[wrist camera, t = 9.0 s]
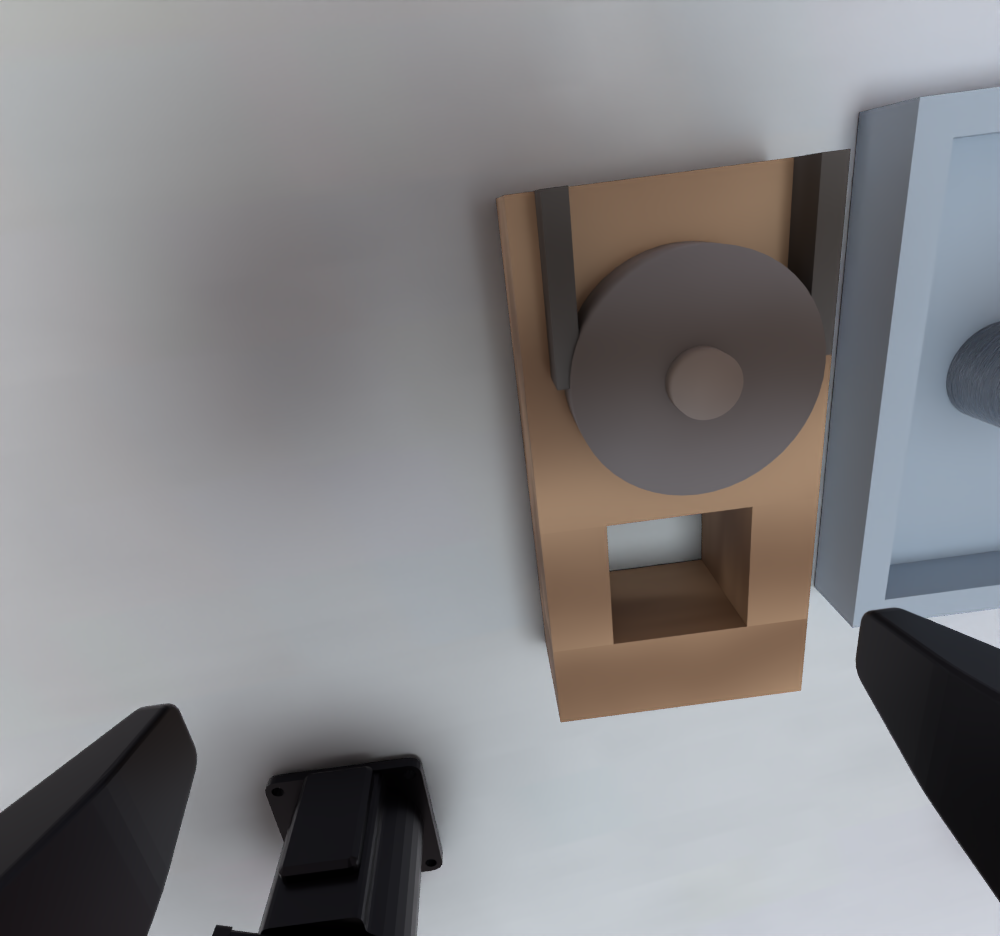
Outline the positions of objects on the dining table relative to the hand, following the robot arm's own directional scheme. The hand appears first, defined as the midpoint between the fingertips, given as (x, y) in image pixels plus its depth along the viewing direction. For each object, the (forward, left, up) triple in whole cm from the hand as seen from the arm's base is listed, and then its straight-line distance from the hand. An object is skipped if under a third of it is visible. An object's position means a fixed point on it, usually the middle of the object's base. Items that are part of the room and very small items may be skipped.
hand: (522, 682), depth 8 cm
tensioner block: (-2, -5, -13) cm, 14 cm away
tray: (-1, -16, -13) cm, 21 cm away
